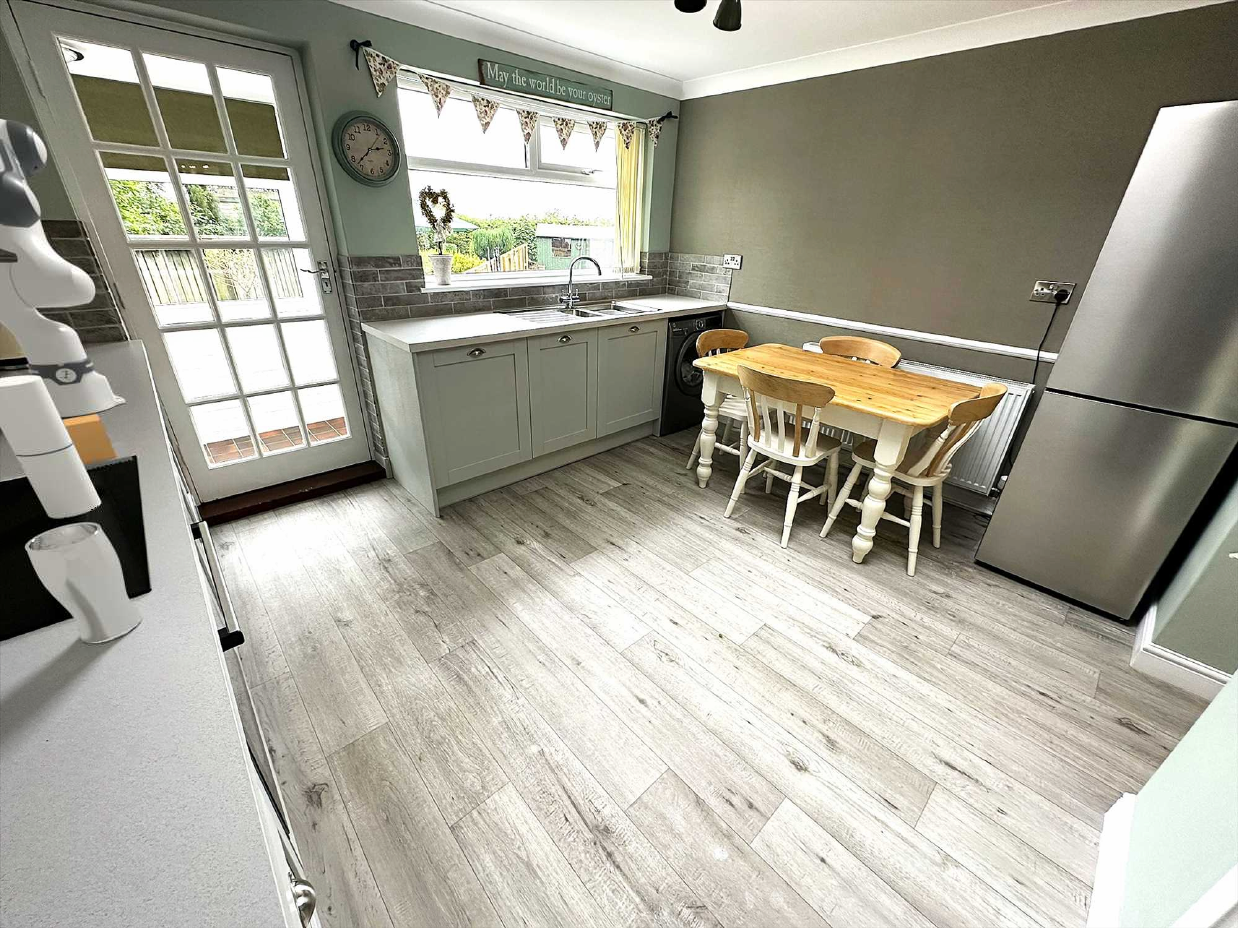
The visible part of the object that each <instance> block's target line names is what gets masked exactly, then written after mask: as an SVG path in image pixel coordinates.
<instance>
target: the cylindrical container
mask: <svg viewBox="0 0 1238 928" xmlns="http://www.w3.org/2000/svg"><path fill="white" fill-rule="evenodd" d="M0 429H1V431H2V433H3V435H4V436H5V437H4V438H5V439H6V441H7V443H8V444H9V446H10V448H11V449H12V451H13V453H14V455H15V457H16V458H17V460H18V462H19V464H20V466H21V468H22V470H23V472H24V473H25V476H26V477H27V479H28V481H29V483H30V485H31V486H32V488H33V490H34V492H35V494H36V496H37V497H38V500H39V501H40V503H41V505H42V507H43V509H44V510H45V512H46V514H47V516H48V517H49V518H52V519H64V518H65V517H66V518H70V517H75V516H79V515H83V514H86V513H88V512H90V511H92V510H91V509H93V510H95V509H96V508H98V507H100V505H101V504H102V501H101V498H100V497H99V495H98V493H97V490H96V489H95V487H94V484H93V482H92V480H91V479H90V476H89V473H88V472H87V470H86V469H85V467H84V465H83V463H82V461H81V459H80V457H79V455H78V453H77V450H76V448H75V445H74V443H73V441H72V439H71V437H70V435H69V433H68V431H67V429H66V427H65V424H64V422H63V419H62V417H60V415H59V413H58V411H57V409H56V407H55V405H54V403H53V401H52V399H51V397H50V395H49V393H48V391H47V388H46V386H45V384H44V382H43V380H42V378H41V377H40V376H32V374H31V375H29V374H28V375H16V376H14V375H13V376H5V377H1V378H0ZM97 506H98V507H97ZM95 507H96V508H95ZM94 508H95V509H94Z"/></svg>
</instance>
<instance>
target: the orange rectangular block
mask: <svg viewBox="0 0 1238 928" xmlns="http://www.w3.org/2000/svg"><path fill="white" fill-rule="evenodd" d="M62 422H63V424H64V426H65V428H66V430H67V432H68V434H69V436H70V438H71V440H72V443H73V445H74V447H75V449H76V451H77V452H78V454H79V456H80V458H81V460H82V462H83V464H87V463H92V462H96V461H101V460H106V459H110V458H115V457H117V456H116V454H115V452H114V450H113V447H112V445H111V444H112V442H111V441H110V439H109V436H108V435H107V432H106V429H105V426H103V423H102V421H101V419H100V417H99V415H98V413H93V414H87V415H81V416H77V417H76V416H75V417H71V418H65V419H62Z"/></svg>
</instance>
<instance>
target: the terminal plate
mask: <svg viewBox="0 0 1238 928" xmlns="http://www.w3.org/2000/svg"><path fill="white" fill-rule="evenodd" d="M111 445H112V447H113V450H114V452H115V454H116V456H117V457H115V458H110V459H106V460H101V461H96V462H92V463H87V464H83V465H84V467H85V469H86V471H89V470H93V468H94V469H98V468H97V467H99V468H103V467H106V466H105V465H108V466H111V465H110V464H112V465H116V463H117V464H120V463H119V462H121V463H125V461H126V462H129V461H128V460H130V461H133V460H134V459H133V456H132V454H131V453H130V452H129V449H128V448H127V446H126V445H125V442H124V441H117V442H113V443H112V442H111ZM77 453H78V452H77ZM78 455H79V454H78ZM79 457H80V456H79ZM80 459H81V458H80ZM81 461H82V460H81ZM82 463H83V462H82ZM102 466H103V467H102Z"/></svg>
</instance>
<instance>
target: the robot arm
mask: <svg viewBox="0 0 1238 928" xmlns="http://www.w3.org/2000/svg"><path fill="white" fill-rule="evenodd" d="M47 159H48V152H47V149H46V146H45V144H44V142H43V140H42V139H41V138H40V137H39V135H38V134H37V132H36V131H35V130H34V129H33V128H32V127H31V126H29V125H27V124H26V123H23V122H19V121H16V120H12V119H9V118H8V119H6V120H5V119H1V118H0V249H1V250H4V251H7V252H9V253H13V254H15V255H16V258H17V261H16V262H15V261H14V262H0V323H1V324H2V325H3V326H4V327H5V328H6V329H7V330H8V331H9V332H10V333H11V335H13V338H15V340H16V341H17V343H18V345H19V347H20V348H21V350H22V352H23V353H24V356H25V358H26V359H27V362H28V363H27V367H28V371H29V372H30V373H31V376H40V377H41V378H42V380H43V382H44V384H45V386H46V388H47V391H48V393H49V395H50V397H51V399H52V401H53V403H54V405H55V407H56V409H57V411H58V413H59V415H60V418H68V417H76V416H77V417H80V416H86V415H91V414H96V413H99V412H102V411H107V410H108V409H111V408H113V407H115V406H119V405H122V404H125V403H127V402H126V399H125V398H124V397H121V396H118V395H116V394H114V392H113V390H112V388H111V386H110V384H109V381H108V379H107V378H106V376H105V375H103V374H101V373H100V374H99V373H98V372H97V371H95V367H94V363H93V361H92V360H91V357H89V356H87V353H86V351H85V349H84V346H83V344H82V342H81V339H80V337H79V335H78V333H77V332H76V331H75V330H74V329H73V328H72V327H71V326H68V324H64V323H63V322H59V321H55V320H52V319H49V318H47V317H45V316H44V315H42V313H40V312H39V310H37V309H38V308H41V309H42V308H45V309H46V308H69V307H76V306H80V305H81V306H82V305H85V304H90V303H91V302H92V301H93V299H94V298H95V295H96V287H95V283H94V281H93V279H92V277H90V275H89V274H88V273H86V272H85V271H84V270H83V269H81V268H80V267H78V266H76V265H74V264H72V263H71V262H68V260H65V258H62V257H61V256H60V255H59V254H58V253H57V252H56V251H55V250H54V249H53V248H52V246H51V244H50V243H49V241H48V239H47V236H46V234H45V231H44V228H43V225H42V221H41V218H42V215H41V214H42V212H41V207H40V204H39V201H38V199H37V197H36V196H35V194H34V192H33V191H32V190H31V189H30V187H29V184H28V181H27V179H26V177H25V174H24V173H26V175H27V177H28V178H29V179H33V178H35V174H38V173H40V172H41V171H43V169H44V168H45V167H46V165H47ZM36 308H37V309H36Z"/></svg>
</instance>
